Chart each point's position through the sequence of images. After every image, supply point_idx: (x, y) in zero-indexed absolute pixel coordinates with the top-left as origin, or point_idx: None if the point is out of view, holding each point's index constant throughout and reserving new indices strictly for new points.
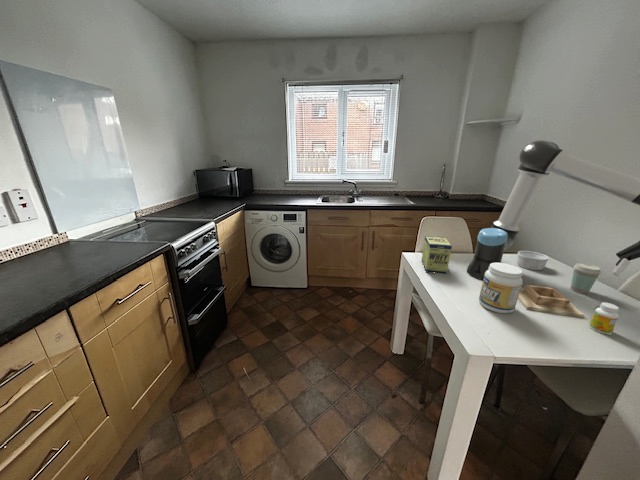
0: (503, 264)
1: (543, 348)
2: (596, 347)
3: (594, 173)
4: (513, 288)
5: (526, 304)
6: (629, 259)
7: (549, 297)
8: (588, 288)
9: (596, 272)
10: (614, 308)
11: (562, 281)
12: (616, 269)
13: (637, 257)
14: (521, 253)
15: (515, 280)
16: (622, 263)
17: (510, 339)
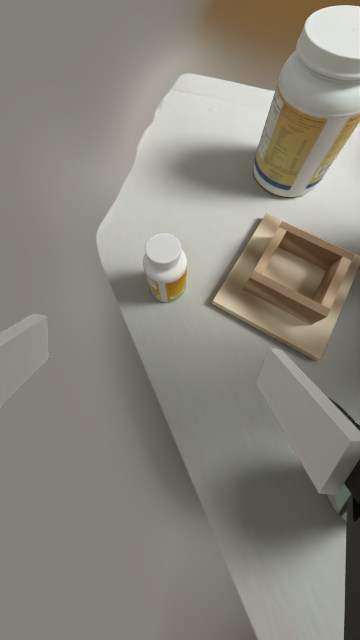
0: None
1: (159, 147)
2: (134, 220)
3: None
4: (276, 87)
5: (274, 218)
6: (356, 511)
7: (274, 244)
8: (339, 494)
9: None
10: (149, 240)
11: None
12: (283, 360)
13: (348, 576)
14: None
15: (292, 61)
16: (310, 394)
17: (189, 125)
